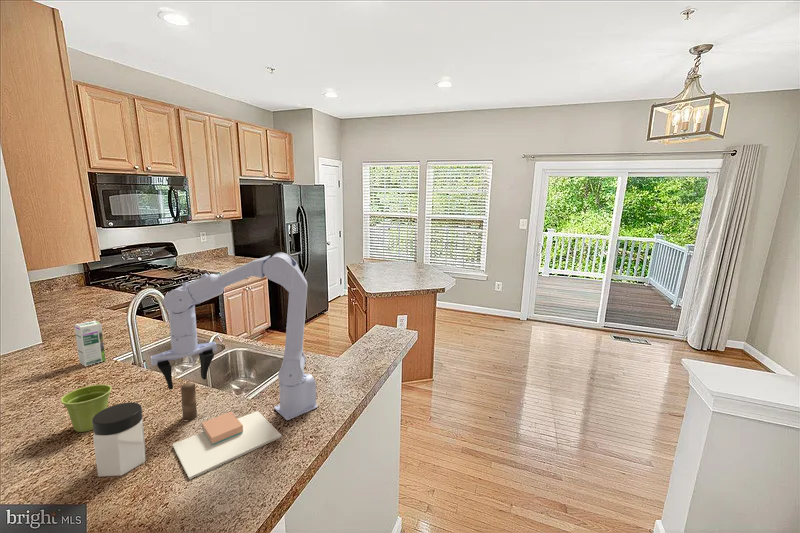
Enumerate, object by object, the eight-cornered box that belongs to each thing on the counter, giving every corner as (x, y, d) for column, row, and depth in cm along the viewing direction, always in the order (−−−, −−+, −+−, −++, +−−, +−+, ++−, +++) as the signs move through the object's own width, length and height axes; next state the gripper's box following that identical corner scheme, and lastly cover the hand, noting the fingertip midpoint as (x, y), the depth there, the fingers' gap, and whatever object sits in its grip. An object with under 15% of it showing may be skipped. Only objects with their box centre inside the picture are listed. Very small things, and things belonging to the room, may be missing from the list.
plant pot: (77, 418, 89) (72, 387, 88) (120, 411, 93) (117, 381, 91) (56, 440, 81) (51, 406, 79) (105, 432, 84) (101, 399, 83)
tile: (231, 411, 90) (242, 425, 84) (231, 418, 90) (243, 432, 85) (201, 422, 85) (211, 437, 79) (201, 429, 85) (212, 445, 80)
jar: (156, 449, 79) (152, 401, 77) (132, 476, 71) (127, 423, 69) (114, 450, 78) (109, 402, 76) (85, 478, 70) (78, 424, 68)
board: (257, 412, 94) (257, 410, 94) (281, 437, 84) (281, 434, 84) (172, 446, 80) (172, 443, 80) (189, 480, 70) (188, 477, 70)
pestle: (194, 412, 93) (193, 381, 92) (198, 417, 91) (196, 386, 90) (181, 417, 91) (179, 385, 90) (184, 422, 89) (182, 390, 87)
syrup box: (85, 367, 117) (80, 327, 115) (78, 363, 120) (73, 323, 118) (106, 361, 122) (101, 322, 120) (99, 357, 125) (95, 319, 123)
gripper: (209, 323, 95) (212, 369, 97) (146, 335, 85) (150, 386, 87) (218, 330, 90) (221, 378, 93) (151, 343, 80) (156, 397, 82)
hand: (187, 382), depth 90 cm, fingers open, 7 cm apart
